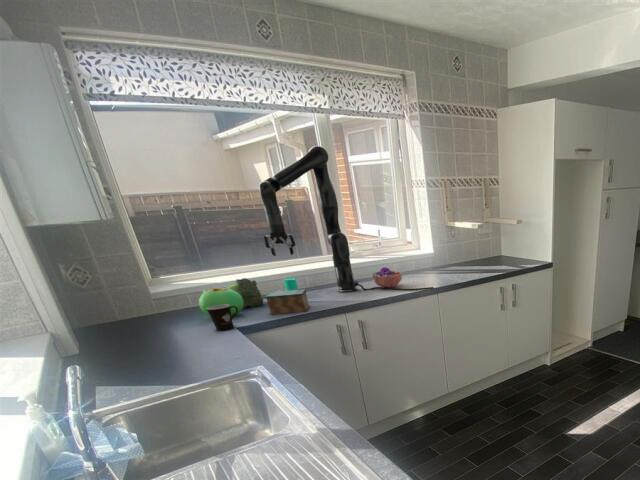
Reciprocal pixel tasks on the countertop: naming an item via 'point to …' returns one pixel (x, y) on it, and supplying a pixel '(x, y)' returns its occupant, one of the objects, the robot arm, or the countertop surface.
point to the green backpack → (249, 292)
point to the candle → (290, 284)
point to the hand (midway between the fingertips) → (283, 255)
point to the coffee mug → (222, 316)
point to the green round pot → (221, 299)
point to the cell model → (387, 278)
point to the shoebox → (287, 301)
